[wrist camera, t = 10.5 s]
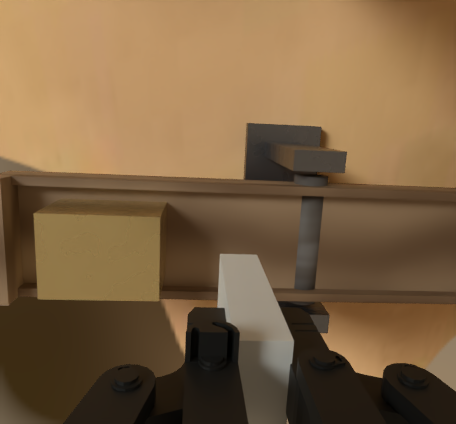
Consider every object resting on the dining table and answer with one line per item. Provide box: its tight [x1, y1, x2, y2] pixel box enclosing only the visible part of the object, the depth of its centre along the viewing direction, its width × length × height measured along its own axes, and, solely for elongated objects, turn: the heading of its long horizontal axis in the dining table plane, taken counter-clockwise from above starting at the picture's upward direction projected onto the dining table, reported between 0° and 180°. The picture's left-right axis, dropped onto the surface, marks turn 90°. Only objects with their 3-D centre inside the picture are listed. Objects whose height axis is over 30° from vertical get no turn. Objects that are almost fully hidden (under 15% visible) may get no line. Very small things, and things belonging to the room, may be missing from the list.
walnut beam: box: [0, 171, 456, 305], centre depth 24 cm, size 8×36×6 cm, turn 87°
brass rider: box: [33, 198, 167, 301], centre depth 22 cm, size 4×6×4 cm
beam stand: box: [244, 123, 347, 333], centre depth 30 cm, size 14×6×12 cm, turn 177°
